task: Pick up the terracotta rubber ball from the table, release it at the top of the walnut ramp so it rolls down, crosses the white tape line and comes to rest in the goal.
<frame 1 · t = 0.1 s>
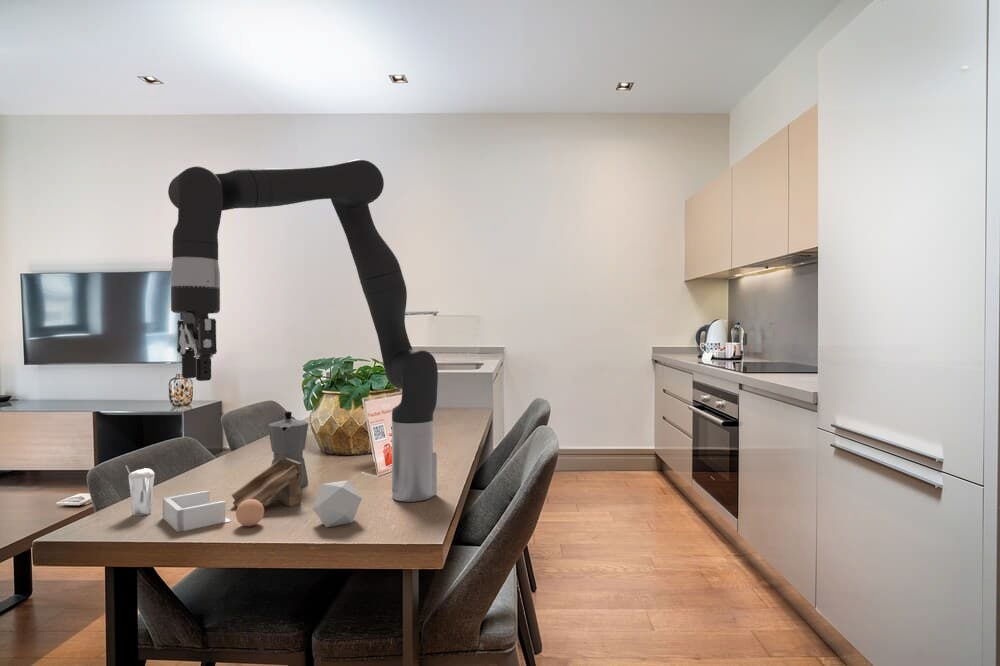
hand: (196, 379, 99), 29 cm above the table, tool pointing down, fingers open, 8 cm apart
die: (337, 524, 112), on the table
tape line: (218, 515, 117), on the table
ramp: (265, 505, 123), on the table
goal: (193, 520, 114), on the table
coffeepot: (289, 484, 141), on the table
milkshake: (139, 514, 118), on the table
ball: (250, 512, 110), point 2 cm above the table
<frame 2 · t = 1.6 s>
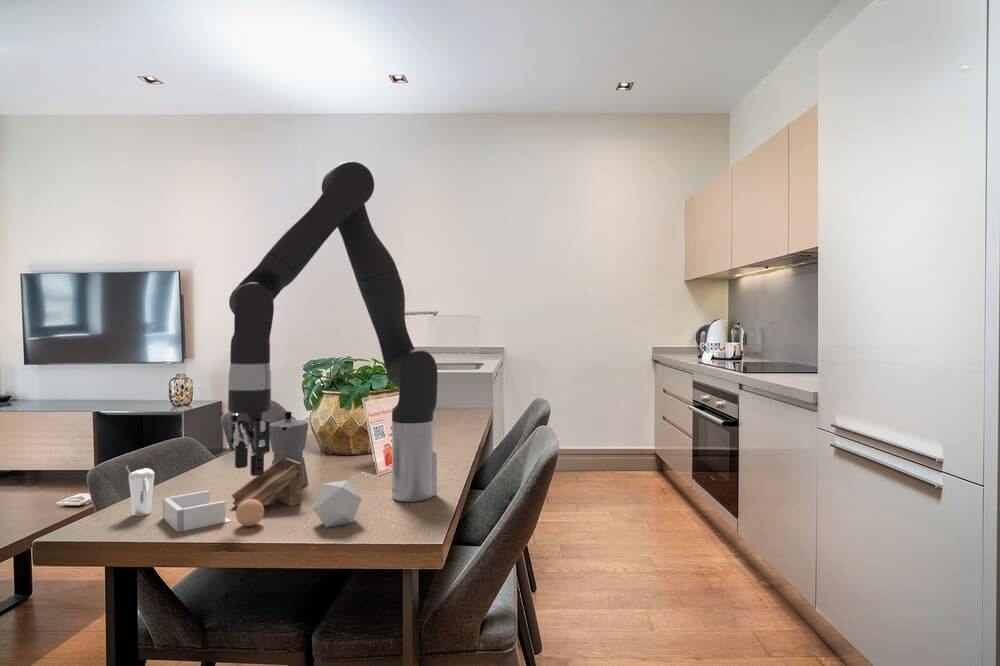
hand: (248, 471, 110), 10 cm above the table, tool pointing down, fingers open, 8 cm apart
nothing on the table moved.
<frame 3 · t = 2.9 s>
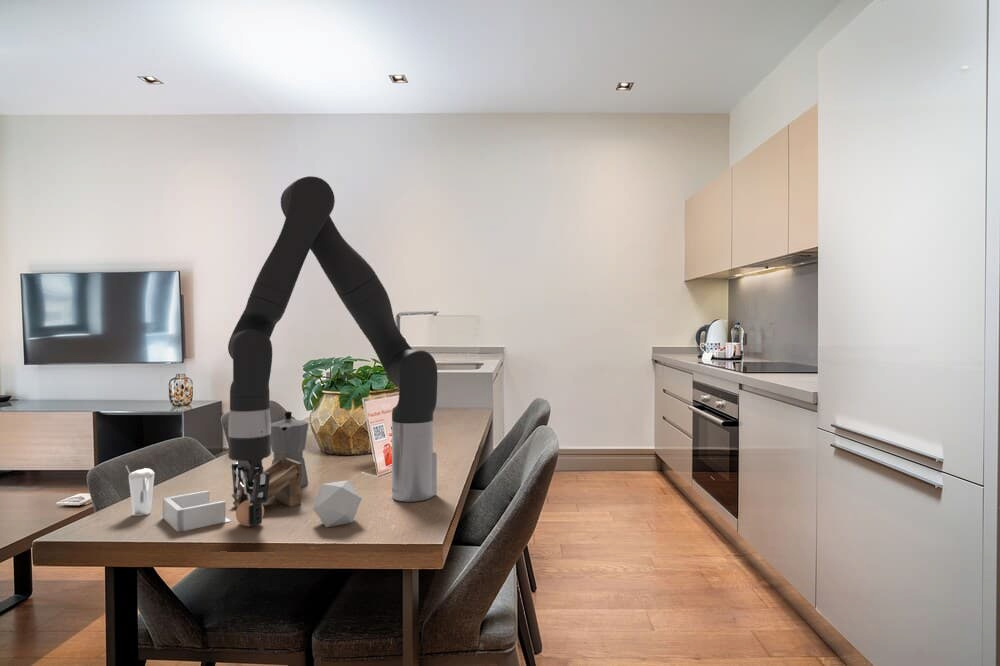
hand: (249, 520, 110), 1 cm above the table, tool pointing down, fingers closed on ball, 5 cm apart
ball: (250, 512, 110), point 2 cm above the table, touching gripper
everything else where it was.
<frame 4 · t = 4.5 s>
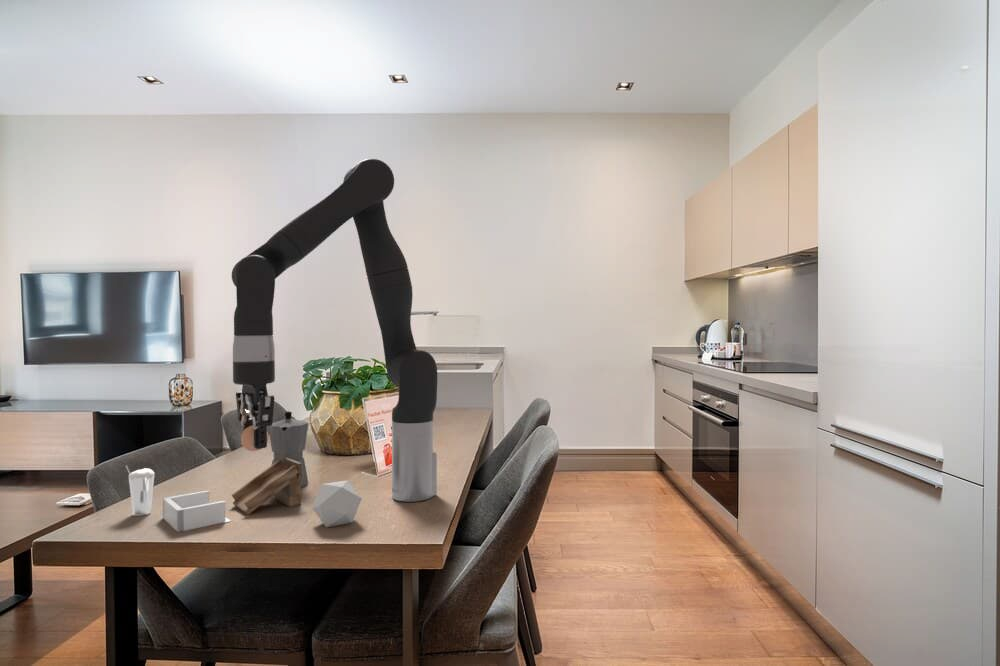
hand: (255, 445, 112), 15 cm above the table, tool pointing down, fingers closed on ball, 5 cm apart
ball: (254, 437, 112), point 17 cm above the table, touching gripper
everything else where it was.
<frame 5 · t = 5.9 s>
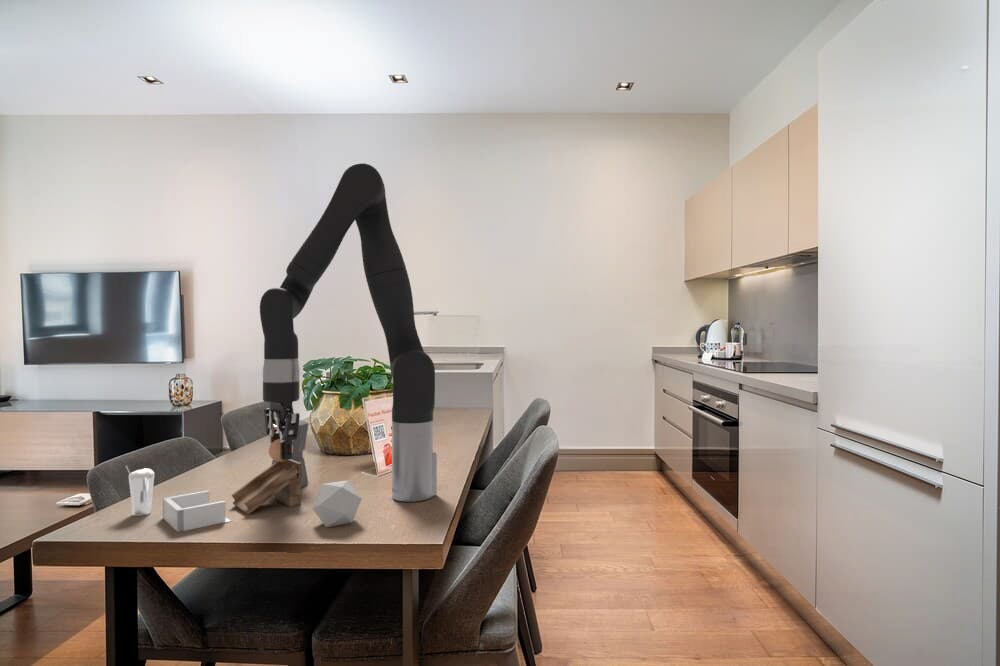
hand: (281, 457, 125), 10 cm above the table, tool pointing down, fingers closed on ball, 4 cm apart
ball: (281, 450, 125), point 11 cm above the table, touching gripper
everything else where it was.
when the fingers open (10 cm above the table, at t = 6.1 s): ball drops 9 cm and tips over, point 2 cm above the table.
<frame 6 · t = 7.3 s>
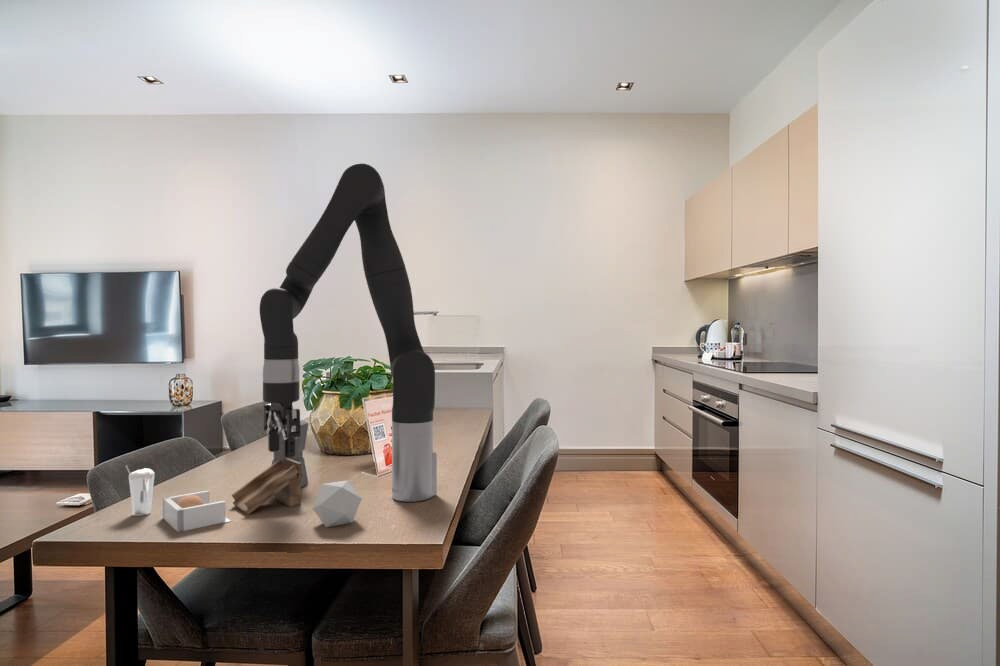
hand: (281, 453, 125), 11 cm above the table, tool pointing down, fingers open, 8 cm apart
ball: (190, 508, 113), point 2 cm above the table, tilted 156°
everything else where it was.
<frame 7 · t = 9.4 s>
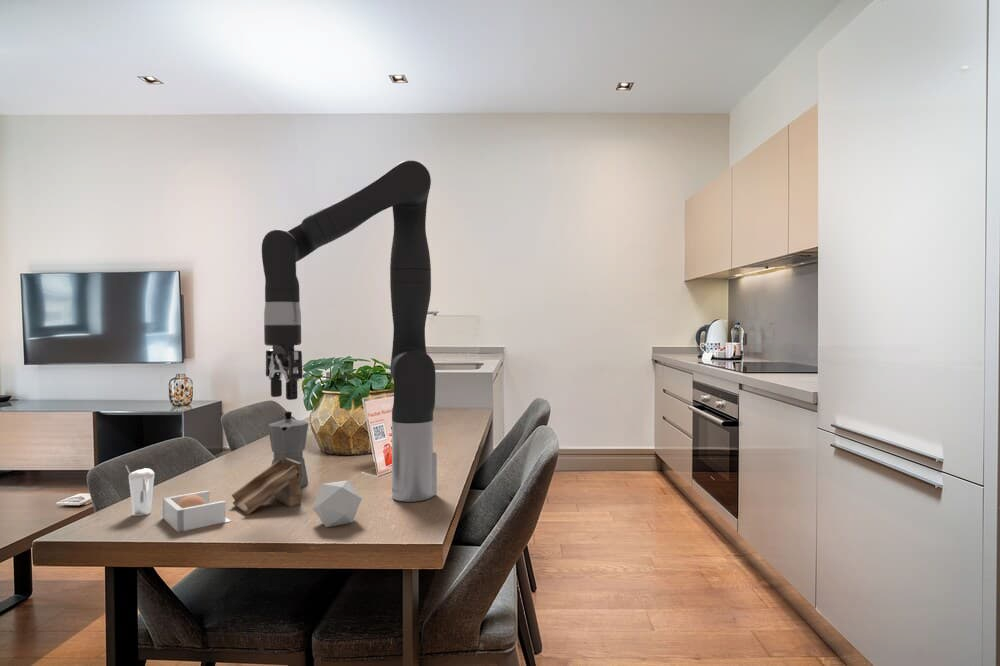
hand: (283, 398, 125), 23 cm above the table, tool pointing down, fingers open, 8 cm apart
nothing on the table moved.
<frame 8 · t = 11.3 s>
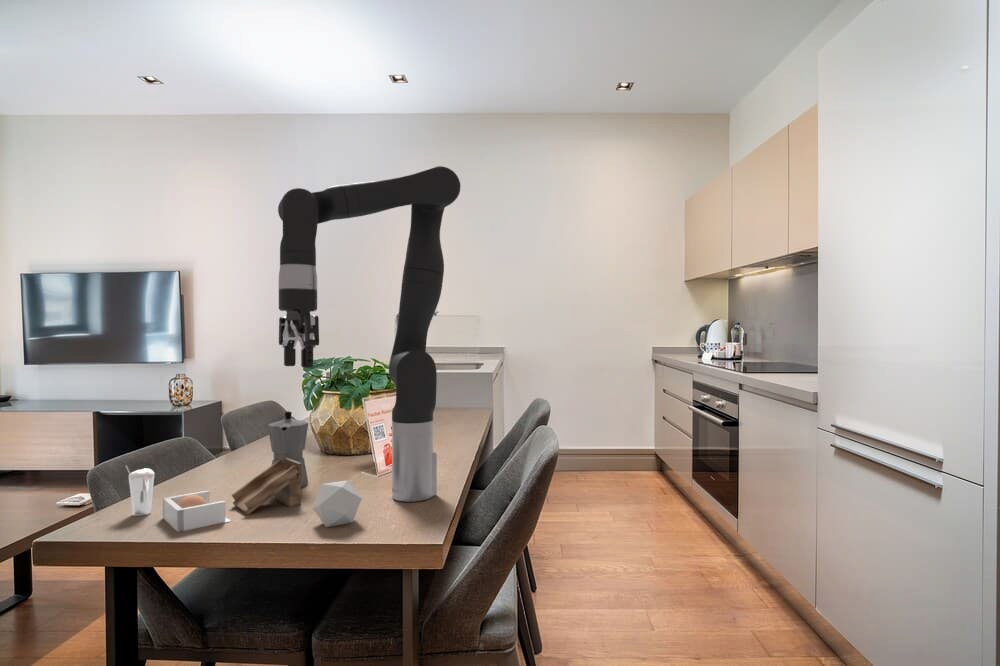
hand: (298, 366, 118), 30 cm above the table, tool pointing down, fingers open, 8 cm apart
nothing on the table moved.
at the end: ball inside the target area (0.5 cm from its centre), point 2.5 cm above the table; the gripper is holding nothing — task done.
